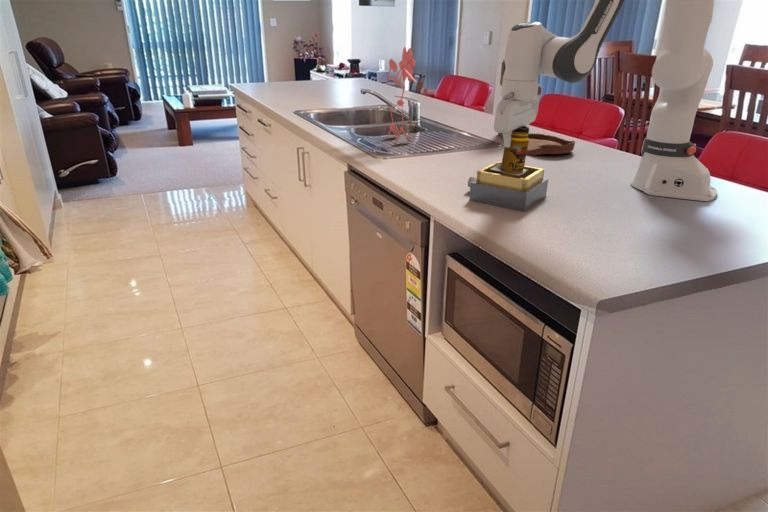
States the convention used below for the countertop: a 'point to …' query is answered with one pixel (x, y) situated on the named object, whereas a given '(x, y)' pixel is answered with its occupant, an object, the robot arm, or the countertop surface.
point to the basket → (548, 145)
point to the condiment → (515, 153)
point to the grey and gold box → (508, 187)
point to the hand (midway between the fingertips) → (513, 144)
